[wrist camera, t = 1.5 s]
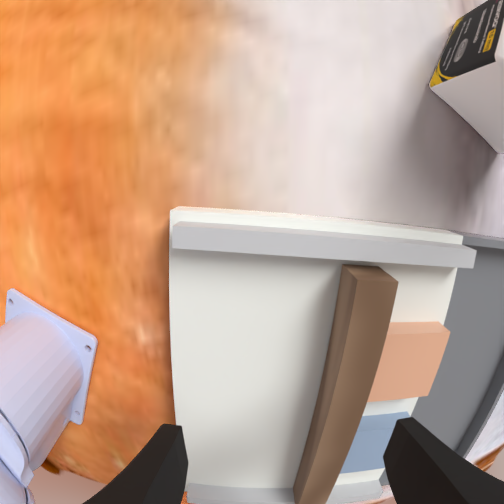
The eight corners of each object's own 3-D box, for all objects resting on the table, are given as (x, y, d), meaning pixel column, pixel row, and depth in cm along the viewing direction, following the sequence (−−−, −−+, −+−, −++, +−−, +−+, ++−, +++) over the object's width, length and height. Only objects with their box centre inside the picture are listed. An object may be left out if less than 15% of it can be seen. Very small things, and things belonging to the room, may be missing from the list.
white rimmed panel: (187, 474, 22) (181, 504, 19) (179, 206, 17) (161, 213, 14) (367, 473, 22) (377, 501, 19) (445, 229, 17) (478, 241, 14)
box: (367, 473, 22) (372, 487, 21) (445, 230, 17) (461, 235, 16) (452, 455, 23) (459, 466, 21) (533, 243, 18) (548, 248, 16)
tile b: (332, 459, 19) (336, 473, 18) (347, 417, 18) (353, 432, 17) (387, 453, 19) (393, 466, 18) (407, 411, 18) (415, 424, 17)
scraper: (292, 487, 20) (295, 511, 17) (342, 264, 15) (357, 279, 13) (318, 486, 20) (322, 509, 17) (378, 266, 16) (398, 281, 13)
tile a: (357, 387, 18) (363, 402, 16) (373, 322, 17) (383, 334, 15) (418, 382, 18) (427, 395, 16) (438, 321, 17) (450, 332, 15)
